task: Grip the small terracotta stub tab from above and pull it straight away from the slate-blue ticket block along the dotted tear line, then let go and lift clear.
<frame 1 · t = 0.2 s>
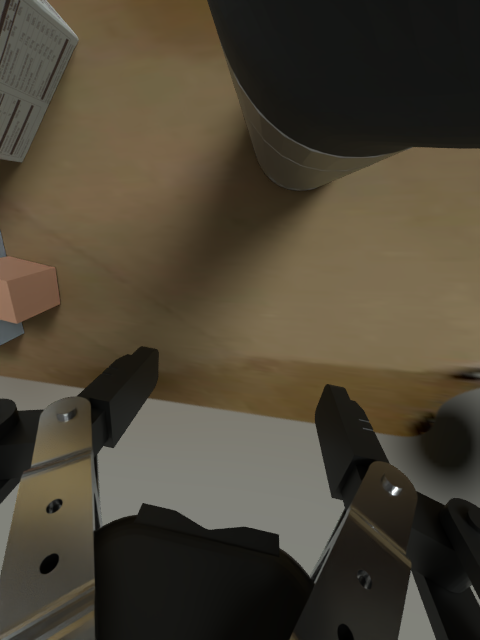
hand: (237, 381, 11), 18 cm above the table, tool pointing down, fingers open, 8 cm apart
stub: (11, 288, 28), point 3 cm above the table, slide at 0.0 cm
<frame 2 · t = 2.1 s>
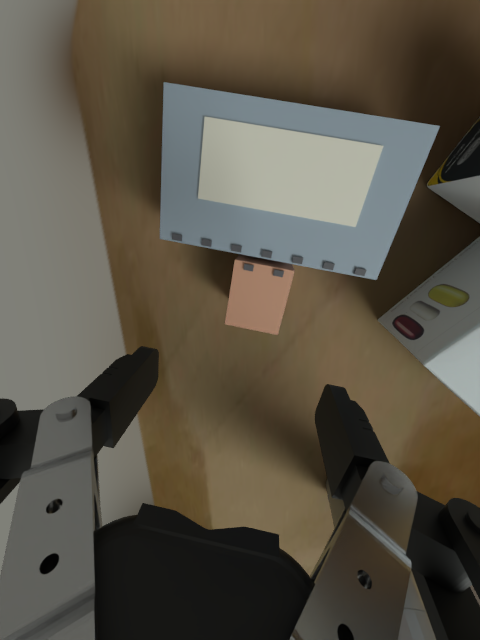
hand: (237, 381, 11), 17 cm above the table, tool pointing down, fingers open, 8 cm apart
ticket block: (278, 197, 23), on the table
stub: (259, 290, 23), point 3 cm above the table, slide at 0.0 cm
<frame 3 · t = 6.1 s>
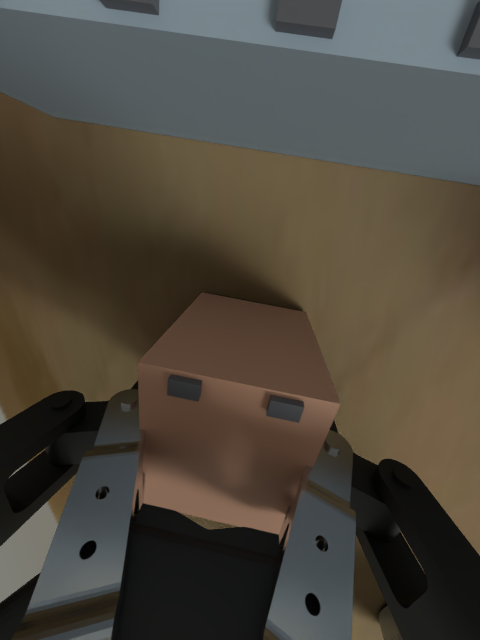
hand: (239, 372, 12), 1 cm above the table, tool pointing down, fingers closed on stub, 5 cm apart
stub: (235, 395, 10), point 3 cm above the table, slide at 5.4 cm, touching gripper
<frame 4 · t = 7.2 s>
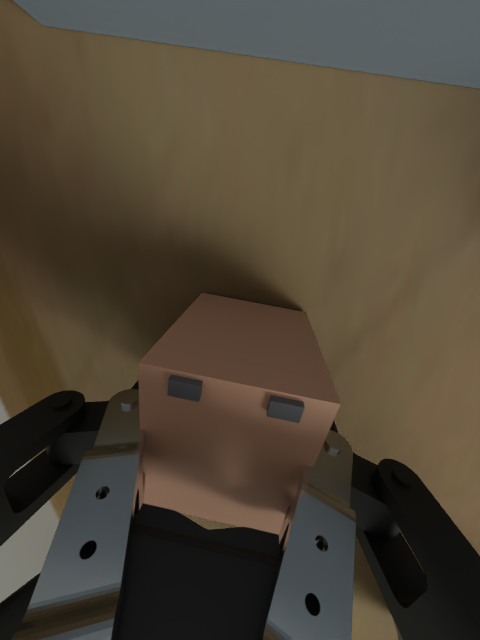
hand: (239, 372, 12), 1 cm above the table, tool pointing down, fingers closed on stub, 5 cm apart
stub: (235, 395, 10), point 3 cm above the table, slide at 8.0 cm, touching gripper
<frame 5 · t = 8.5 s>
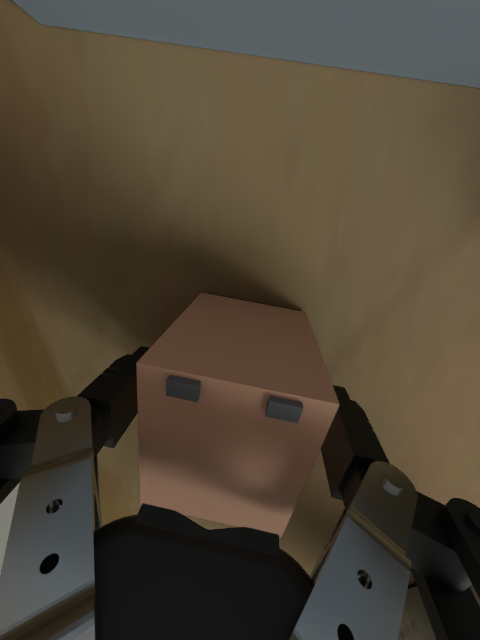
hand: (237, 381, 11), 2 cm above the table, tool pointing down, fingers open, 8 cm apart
stub: (234, 396, 10), point 3 cm above the table, slide at 8.0 cm
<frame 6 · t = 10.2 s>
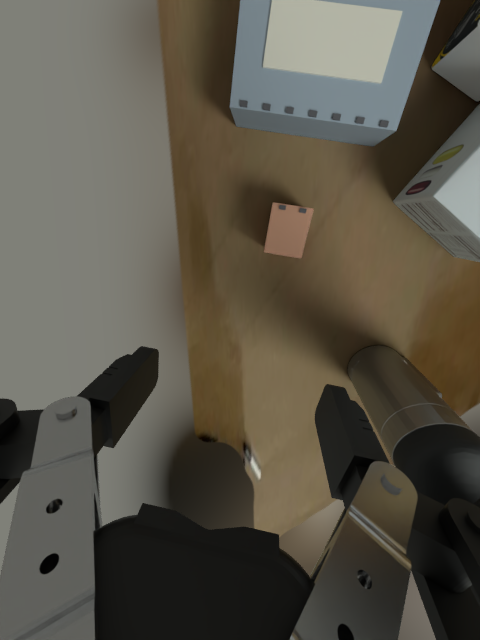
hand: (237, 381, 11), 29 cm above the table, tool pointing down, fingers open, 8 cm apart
ticket block: (314, 86, 29), on the table
stub: (286, 230, 33), point 3 cm above the table, slide at 8.0 cm
supplement box: (477, 174, 31), on the table
medicine bottle: (477, 50, 26), on the table
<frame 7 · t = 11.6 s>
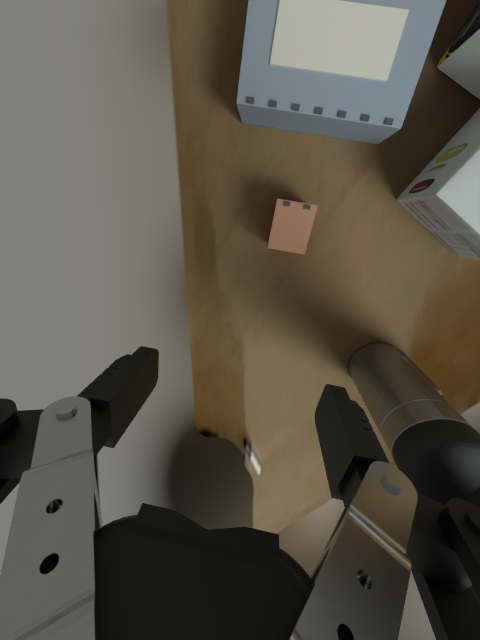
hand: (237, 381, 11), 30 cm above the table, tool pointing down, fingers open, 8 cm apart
ticket block: (320, 84, 29), on the table
stub: (289, 226, 33), point 3 cm above the table, slide at 8.0 cm
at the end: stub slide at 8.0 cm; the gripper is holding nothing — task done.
